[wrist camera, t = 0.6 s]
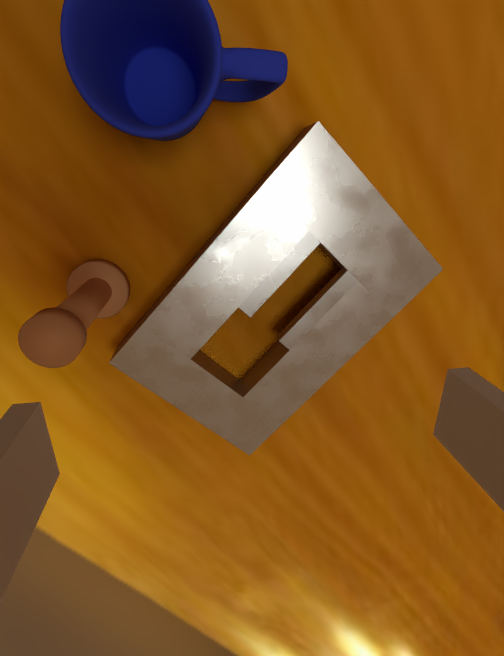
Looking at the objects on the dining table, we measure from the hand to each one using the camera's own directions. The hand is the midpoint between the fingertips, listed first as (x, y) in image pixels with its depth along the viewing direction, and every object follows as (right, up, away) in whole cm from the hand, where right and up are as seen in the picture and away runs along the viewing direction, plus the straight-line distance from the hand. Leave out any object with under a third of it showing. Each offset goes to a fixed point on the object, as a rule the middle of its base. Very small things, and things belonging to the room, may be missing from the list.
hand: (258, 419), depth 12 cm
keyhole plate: (+2, +5, +24) cm, 24 cm away
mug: (-5, +21, +17) cm, 28 cm away
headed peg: (-14, +7, +21) cm, 26 cm away
